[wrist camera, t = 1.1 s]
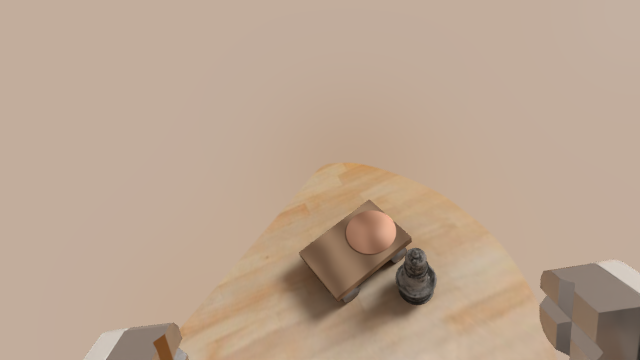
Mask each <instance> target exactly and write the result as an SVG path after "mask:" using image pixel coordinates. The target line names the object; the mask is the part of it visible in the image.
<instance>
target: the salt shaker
mask: <svg viewBox="0 0 640 360" xmlns="http://www.w3.org/2000/svg"><path fill="white" fill-rule="evenodd" d="M436 281H437V278H436V274H435V272H434V270H433V269H432V268H431V267H430V266H429V265H428V262H427V261H426V255H425V253H424V251H423V250H421V249H419V248H412V249H410V250H408V252H407V253H406V255H405V261H404V263H403V265H401V266H400V268H399V269H398V271H397V273H396V283H397V285H398V288H399V292H400V295H401V296H402V298H403V299H404V300H405V301H407V302H408V303H411V304H415V305H421V304H424V303H426V302H428V301H429V300H430V299H431V297H432V295H433V293H434V289H435V286H436Z"/></svg>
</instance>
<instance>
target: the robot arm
mask: <svg viewBox="0 0 640 360" xmlns="http://www.w3.org/2000/svg"><path fill="white" fill-rule="evenodd" d="M540 284H541V285H540V288H541V289H542V290H543V291H544V292H545V294H546V295H547V296H546V297H545V299H544V300H543V301H542V303H541V304H540V321H541V325H542V328H543V331H544V333H545V335H546V337H547V339H548V340H549V342H550V343H551V344H552V345H553V346H554V348H555V349H556V350H558V351H561V352H563V353H565V354H567V355H569V356H570V360H640V273H638V272H637V271H635V270H634V269H632V268H631V267H629V266H628V265H626V264H625V263H623V262H622V261H618V260H614V259H612V260H606V261H600V262H594V263H590V264H587V265H580V266H573V267H566V268H561V269H554V270H547V271H543V274H542V276H541V283H540ZM181 340H182V336H181V333H180V330H179V327H178V326H177V325H176V324H174V323H167V324H159V325H150V326H141V327H133V328H125V329H118V330H111V331H107V332H105V333H103V334H101V336H100V337H99V339H98V340H97V341H96V343H95V344H94V345H93V347H92V348H91V349H90V351H89V352H88V354H87V355H86V356H85V358H84V359H83V360H189V359H188V356H187V354H186V353H185V352H183V351H182V350H181V349H180V348H178V347H179V345H180V342H181Z"/></svg>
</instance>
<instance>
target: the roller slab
mask: <svg viewBox="0 0 640 360" xmlns="http://www.w3.org/2000/svg"><path fill="white" fill-rule="evenodd" d="M411 242H412V241H411V236H410V235H408V234H407V233H406V232H405V231H404V230H403V229H402V228H401V227H399V226H398V225H397V224H396V223H395V222H394V221H393V220H392V219H391V218H390V217H389V216H388V215H386V214H385V213H384V212H383V211H382V210H381V209H379V208H378V207H377V206H376V205H375V204H374V203H373V202H372V201H371V200H368V201H367V202H365V203H364V204H363V205H361V206H360V207H359V208H357V209H356V210H355V211H353V212H352V213H351V214H349V215H348V216H347V217H345V218H344V219H343V220H341V221H340V222H339V223H337V224H336V225H335V226H333V227H332V228H331V229H329V230H328V231H327V232H325V233H324V234H323V235H321V236H320V237H319V238H318V239H316V240H315V241H314V242H312V243H311V244H310V245H308V246H307V247H306V248H304V249H303V250H302V251H300V252H299V254H300V256H301V258H302V259H303V260H304V261H305V263H306V264H307V265H308V266H309V267H310V269H311V270H312V271H313V272H314V274H315V275H316V276H317V277H318V278H319V280H320V281H321V282H322V283H323V285H324V286H325V287H326V288H327V289H328V291H329V292H330V293H331V294H332V295H333V297H334V298H335V299H336V300H337V302H339V301H340V300H341V299H343V300H344V302H346V303H347V302H350V301H351V300H353V299H354V298H355V297H356V296H357V295H358V293H359V291H360V289H359V288H358V287H357V286H358V285H359V284H361V283H362V282H363V281H364V280H366V279H367V278H368V277H369V276H370V275H372V274H373V273H374V272H375V271H377V270H378V269H379V268H380V267H381V266H383V265H384V264H385V263H386V262H388V261H389V260H390V259H391V260H392V261H393V262H394V263H397V262H399V261H400V260H401V259H402V258H403V257H404V256H405V255H406V253H407V249H406V248H405V247H406V246H407V245H408V244H410V243H411Z"/></svg>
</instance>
